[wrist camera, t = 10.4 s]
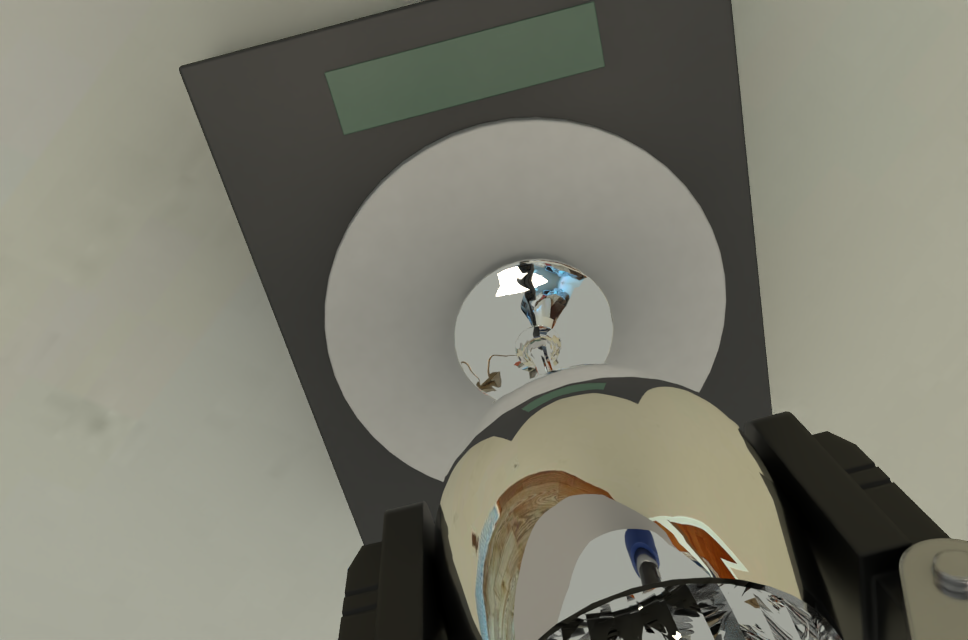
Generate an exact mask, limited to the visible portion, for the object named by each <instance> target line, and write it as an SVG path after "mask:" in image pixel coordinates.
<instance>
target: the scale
mask: <svg viewBox="0 0 968 640" xmlns="http://www.w3.org/2000/svg"><path fill="white" fill-rule="evenodd" d="M179 71H180V74H181V76H182V79H183V82H184V84H185V87H186V89H187V92H188V94H189V97H190V100H191V102H192V105H193V107H194V110H195V112H196V115H197V118H198V120H199V123H200V125H201V128H202V130H203V133H204V136H205V138H206V141H207V143H208V146H209V148H210V151H211V153H212V156H213V159H214V161H215V164H216V166H217V169H218V171H219V174H220V177H221V179H222V182H223V184H224V187H225V189H226V192H227V195H228V197H229V200H230V202H231V205H232V207H233V210H234V213H235V215H236V218H237V220H238V223H239V225H240V228H241V231H242V233H243V236H244V238H245V241H246V243H247V246H248V248H249V251H250V254H251V256H252V259H253V261H254V264H255V266H256V269H257V272H258V274H259V277H260V279H261V282H262V284H263V287H264V290H265V292H266V295H267V297H268V300H269V302H270V305H271V308H272V310H273V313H274V315H275V318H276V320H277V323H278V325H279V328H280V331H281V333H282V336H283V338H284V341H285V343H286V346H287V349H288V351H289V354H290V356H291V359H292V361H293V364H294V367H295V369H296V372H297V374H298V377H299V379H300V382H301V385H302V387H303V390H304V392H305V395H306V397H307V400H308V403H309V405H310V408H311V410H312V413H313V415H314V418H315V420H316V423H317V426H318V428H319V431H320V433H321V436H322V438H323V441H324V444H325V446H326V449H327V451H328V454H329V456H330V459H331V462H332V464H333V467H334V469H335V472H336V474H337V477H338V480H339V482H340V485H341V487H342V490H343V492H344V495H345V498H346V500H347V503H348V505H349V508H350V510H351V513H352V515H353V518H354V521H355V523H356V526H357V528H358V531H359V533H360V536H361V539H362V541H363V544H364V546H365V545H369V544H373V543H377V542H381V541H382V535H383V523H384V514H385V511H387V510H391V509H395V508H399V507H403V506H407V505H411V504H415V503H419V502H423V501H425V502H426V503H427V505H428V507H429V510H430V512H431V515H432V518H433V521H434V524H435V521H436V515H437V509H438V503H439V497H440V493H441V489H442V486H443V482H444V478H445V475H446V471H447V468H448V465H449V463H450V461H451V459H452V457H453V455H454V453H455V450H456V448H457V446H458V444H459V442H460V441H461V439H462V438H463V436H464V435H465V433H466V432H467V430H468V429H469V428H470V427H471V425H472V424H473V423H474V421H475V420H476V419H477V418H478V417H479V416H480V415H481V414H482V413H483V412H484V410H485V409H487V408H488V407H489V406H490V405H491V404H492V403H493V402H494V401H496V400H494V399H492V398H490V397H488V396H487V395H485V394H484V393H482V392H481V391H479V390H478V389H477V388H476V387H475V386H474V385H473V384H472V383H471V382H470V381H469V380H468V378H467V377H466V376H465V374H464V373H463V371H462V369H461V368H460V365H459V363H458V360H457V358H456V354H455V349H454V326H455V321H456V316H457V314H458V311H459V309H460V307H461V305H462V302H463V300H464V299H465V298H466V296H467V295H468V293H469V292H470V291H471V289H472V288H473V287H474V286H475V285H476V284H477V283H478V282H479V281H480V280H482V279H483V278H484V277H485V276H486V275H487V274H489V273H491V272H493V271H494V270H496V269H498V268H500V267H502V266H503V265H507V264H510V263H513V262H516V261H520V260H526V259H538V258H543V259H550V260H556V261H561V262H564V263H566V264H569V265H571V266H574V267H576V268H578V269H580V270H581V271H582V272H584V273H585V274H586V275H588V276H589V277H590V278H592V279H593V280H594V281H595V282H596V283H597V284H598V285H599V286H600V288H601V289H602V291H603V292H604V294H605V296H606V298H607V300H608V302H609V304H610V307H611V311H612V314H613V322H614V336H613V343H612V347H611V350H610V353H609V356H608V358H607V360H606V362H605V363H622V364H629V365H635V366H639V367H643V368H647V369H650V370H654V371H658V372H660V373H662V374H665V375H667V376H669V377H671V378H674V379H676V380H678V381H680V382H682V383H684V384H685V385H687V386H689V387H691V388H692V389H694V390H696V391H697V392H699V393H701V394H702V395H703V396H704V397H705V398H707V399H708V400H709V401H710V402H711V403H713V404H714V405H715V406H716V407H717V408H718V409H720V410H721V411H722V412H723V413H724V414H725V415H727V416H728V417H729V418H730V419H731V420H732V421H734V422H735V423H736V424H737V425H738V426H739V427H740V429H741V430H742V431H743V432H744V427H745V423H746V422H747V421H751V420H755V419H759V418H763V417H767V416H771V415H772V407H771V397H770V387H769V377H768V367H767V357H766V347H765V337H764V327H763V317H762V307H761V297H760V286H759V276H758V266H757V256H756V246H755V236H754V226H753V216H752V206H751V196H750V186H749V176H748V166H747V156H746V145H745V135H744V125H743V115H742V105H741V95H740V85H739V75H738V65H737V55H736V45H735V35H734V25H733V15H732V4H731V0H427V1H423V2H419V3H416V4H412V5H408V6H404V7H400V8H397V9H393V10H389V11H385V12H382V13H378V14H374V15H370V16H367V17H363V18H359V19H355V20H352V21H348V22H344V23H340V24H337V25H333V26H329V27H325V28H322V29H318V30H314V31H310V32H307V33H303V34H299V35H295V36H292V37H288V38H284V39H280V40H277V41H273V42H269V43H265V44H262V45H258V46H254V47H250V48H247V49H243V50H239V51H235V52H232V53H228V54H224V55H220V56H217V57H213V58H209V59H205V60H202V61H198V62H194V63H190V64H186V65H183V66H180V67H179ZM744 433H745V432H744Z"/></svg>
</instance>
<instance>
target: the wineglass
mask: <svg viewBox="0 0 968 640" xmlns="http://www.w3.org/2000/svg"><path fill="white" fill-rule="evenodd" d="M613 336H614V322H613V314H612V311H611V307H610V304H609V302H608V300H607V298H606V296H605V294H604V292H603V291H602V289H601V288H600V286H599V285H598V284H597V283H596V282H595V281H594V280H593V279H592V278H590V277H589V276H588V275H586V274H585V273H584V272H582V271H581V270H580V269H578V268H576V267H574V266H571V265H569V264H566V263H564V262H561V261H556V260H550V259H543V258H538V259H526V260H520V261H516V262H513V263H510V264H507V265H503V266H502V267H500V268H498V269H496V270H494V271H493V272H491V273H489V274H487V275H486V276H485V277H484V278H483V279H482V280H480V281H479V282H478V283H477V284H476V285H475V286H474V287H473V288H472V289H471V291H470V292H469V293H468V295H467V296H466V298H465V299H464V300H463V302H462V305H461V307H460V309H459V311H458V314H457V316H456V321H455V326H454V349H455V354H456V358H457V360H458V363H459V365H460V368H461V369H462V371H463V373H464V374H465V376H466V377H467V378H468V380H469V381H470V382H471V383H472V384H473V385H474V386H475V387H476V388H477V389H478V390H479V391H481V392H482V393H484V394H485V395H487V396H488V397H490V398H492V399H494V400H496V401H494V402H493V403H492V404H491V405H490V406H489V407H488V408H487V409H485V410H484V412H483V413H482V414H481V415H480V416H479V417H478V418H477V419H476V420H475V421H474V423H473V424H472V425H471V427H470V428H469V429H468V430H467V432H466V433H465V435H464V436H463V438H462V439H461V441H460V442H459V444H458V446H457V448H456V450H455V453H454V455H453V457H452V459H451V461H450V463H449V465H448V468H447V471H446V475H445V478H444V482H443V486H442V489H441V493H440V497H439V503H438V509H437V515H436V521H435V526H434V566H435V576H436V587H437V595H438V601H439V606H440V611H441V616H442V620H443V625H444V630H445V635H446V638H447V640H844V636H843V633H842V630H841V627H840V623H839V620H838V617H837V613H836V610H835V607H834V604H833V600H832V598H831V596H830V593H829V591H828V588H827V586H826V583H825V581H824V578H823V576H822V573H821V571H820V568H819V566H818V563H817V561H816V558H815V556H814V553H813V551H812V548H811V546H810V543H809V541H808V538H807V536H806V534H805V531H804V529H803V527H802V525H801V522H800V520H799V518H798V516H797V514H796V512H795V510H794V508H793V506H792V504H791V502H790V500H789V498H788V496H787V494H786V493H785V491H784V489H783V487H782V485H781V483H780V482H779V480H778V478H777V476H776V475H775V474H774V472H773V471H772V470H771V468H770V467H769V465H768V464H767V463H766V461H765V460H764V458H763V457H762V456H761V454H760V453H759V451H758V450H757V449H756V447H755V446H754V444H753V443H752V442H751V440H750V439H749V438H748V437H747V436H746V434H745V433H744V432H743V431H742V430H741V429H740V427H739V426H738V425H737V424H736V423H735V422H734V421H732V420H731V419H730V418H729V417H728V416H727V415H725V414H724V413H723V412H722V411H721V410H720V409H718V408H717V407H716V406H715V405H714V404H713V403H711V402H710V401H709V400H708V399H707V398H705V397H704V396H703V395H702V394H701V393H699V392H697V391H696V390H694V389H692V388H691V387H689V386H687V385H685V384H684V383H682V382H680V381H678V380H676V379H674V378H671V377H669V376H667V375H665V374H662V373H660V372H658V371H654V370H650V369H647V368H643V367H639V366H635V365H629V364H622V363H605V362H606V360H607V358H608V356H609V353H610V350H611V347H612V343H613Z"/></svg>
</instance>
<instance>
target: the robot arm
mask: <svg viewBox="0 0 968 640" xmlns="http://www.w3.org/2000/svg"><path fill="white" fill-rule="evenodd" d="M744 432H745V434H746V436H747V437H748V438H749V439H750V440H751V442H752V443H753V444H754V446H755V447H756V449H757V450H758V451H759V453H760V454H761V456H762V457H763V458H764V460H765V461H766V463H767V464H768V465H769V467H770V468H771V470H772V471H773V472H774V474H775V475H776V476H777V478H778V480H779V482H780V483H781V485H782V487H783V489H784V491H785V493H786V494H787V496H788V498H789V500H790V502H791V504H792V506H793V508H794V510H795V512H796V514H797V516H798V518H799V520H800V522H801V525H802V527H803V529H804V531H805V534H806V536H807V538H808V541H809V543H810V546H811V548H812V551H813V553H814V556H815V558H816V561H817V563H818V566H819V568H820V571H821V573H822V576H823V578H824V581H825V583H826V586H827V588H828V591H829V593H830V596H831V598H832V600H833V604H834V607H835V610H836V613H837V617H838V620H839V623H840V627H841V630H842V633H843V636H844V640H968V541H964V540H959V539H951V538H950V537H949V536H948V535H947V534H946V533H945V532H944V531H943V530H942V529H941V528H940V527H939V526H938V525H937V524H936V523H935V522H934V521H933V520H932V519H931V518H930V517H928V516H927V515H926V514H925V513H924V512H923V511H922V510H921V509H920V508H919V507H918V506H917V505H916V504H915V503H914V502H913V501H912V500H911V499H910V498H909V497H908V496H907V495H906V494H905V493H904V492H903V491H902V490H901V489H900V488H899V487H898V486H897V485H896V484H895V483H894V482H893V483H891V481H890V478H889V477H888V476H887V475H886V474H885V473H884V472H883V471H882V470H881V469H880V468H879V467H875V464H874V462H873V461H872V460H871V459H870V458H869V457H868V456H867V455H866V454H865V453H864V452H863V451H862V450H861V449H860V448H859V447H858V446H857V445H855V444H853V443H851V442H849V441H847V440H845V439H843V438H841V437H839V436H836V435H834V434H832V433H830V432H828V431H826V432H822V433H818V434H814V435H811V433H810V432H809V431H808V430H807V429H806V428H805V427H804V426H803V425H802V424H801V423H800V422H799V421H798V420H797V418H796V417H795V416H794V415H793V414H792V413H790V412H783V413H779V414H775V415H771V416H767V417H763V418H759V419H755V420H751V421H747V422H746V423H745V427H744ZM434 526H435V524H434V521H433V518H432V515H431V512H430V510H429V507H428V505H427V503H426V502H425V501H423V502H419V503H415V504H411V505H407V506H403V507H399V508H395V509H391V510H387V511H385V514H384V523H383V535H382V541H381V542H377V543H373V544H369V545H365V546H362V547H361V549H360V551H359V552H358V554H357V556H356V557H355V559H354V560H353V562H352V564H351V565H350V567H349V569H348V573H347V581H346V588H345V598H344V602H343V609H342V614H343V617H341V624H340V631H339V638H338V640H447V638H446V635H445V630H444V625H443V620H442V616H441V611H440V606H439V601H438V595H437V587H436V576H435V566H434Z"/></svg>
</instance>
